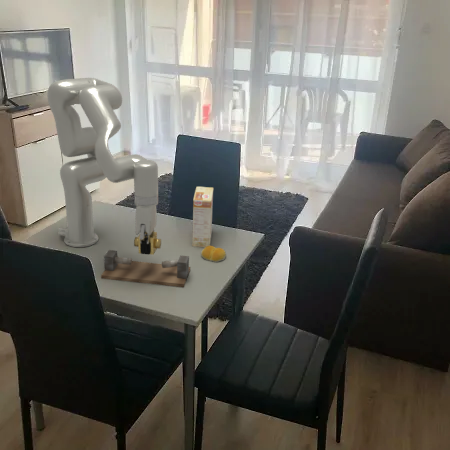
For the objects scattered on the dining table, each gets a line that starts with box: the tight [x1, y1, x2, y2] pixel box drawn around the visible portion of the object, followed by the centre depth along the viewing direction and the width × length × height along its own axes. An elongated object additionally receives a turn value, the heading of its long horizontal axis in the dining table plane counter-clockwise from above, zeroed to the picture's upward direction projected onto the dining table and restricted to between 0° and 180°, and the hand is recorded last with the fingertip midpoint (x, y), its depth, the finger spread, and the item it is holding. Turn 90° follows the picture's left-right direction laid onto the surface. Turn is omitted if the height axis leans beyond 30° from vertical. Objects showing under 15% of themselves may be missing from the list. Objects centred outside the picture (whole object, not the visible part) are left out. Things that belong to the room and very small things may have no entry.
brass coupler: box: [133, 231, 162, 256], centre depth 165 cm, size 8×5×6 cm, turn 83°
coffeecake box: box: [191, 186, 214, 248], centre depth 195 cm, size 15×7×20 cm, turn 178°
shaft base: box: [100, 249, 191, 288], centre depth 169 cm, size 28×12×7 cm, turn 83°
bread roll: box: [200, 245, 227, 263], centre depth 184 cm, size 8×9×4 cm
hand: (147, 249), depth 166 cm, fingers closed on brass coupler, 5 cm apart
